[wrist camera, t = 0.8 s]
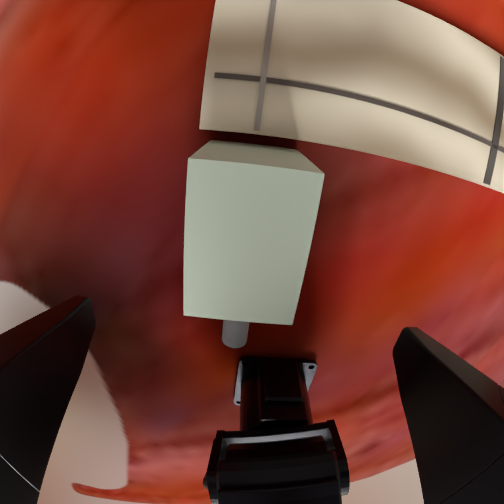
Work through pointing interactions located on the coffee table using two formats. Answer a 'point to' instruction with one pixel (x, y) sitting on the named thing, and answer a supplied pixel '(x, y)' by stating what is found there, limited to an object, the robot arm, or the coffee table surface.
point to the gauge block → (247, 234)
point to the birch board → (358, 82)
